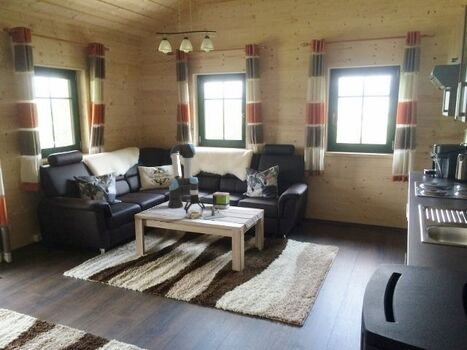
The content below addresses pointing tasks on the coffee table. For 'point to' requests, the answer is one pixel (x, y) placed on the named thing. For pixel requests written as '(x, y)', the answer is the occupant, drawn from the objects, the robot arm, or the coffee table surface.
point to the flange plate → (194, 214)
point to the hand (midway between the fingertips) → (194, 216)
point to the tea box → (220, 200)
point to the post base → (208, 216)
